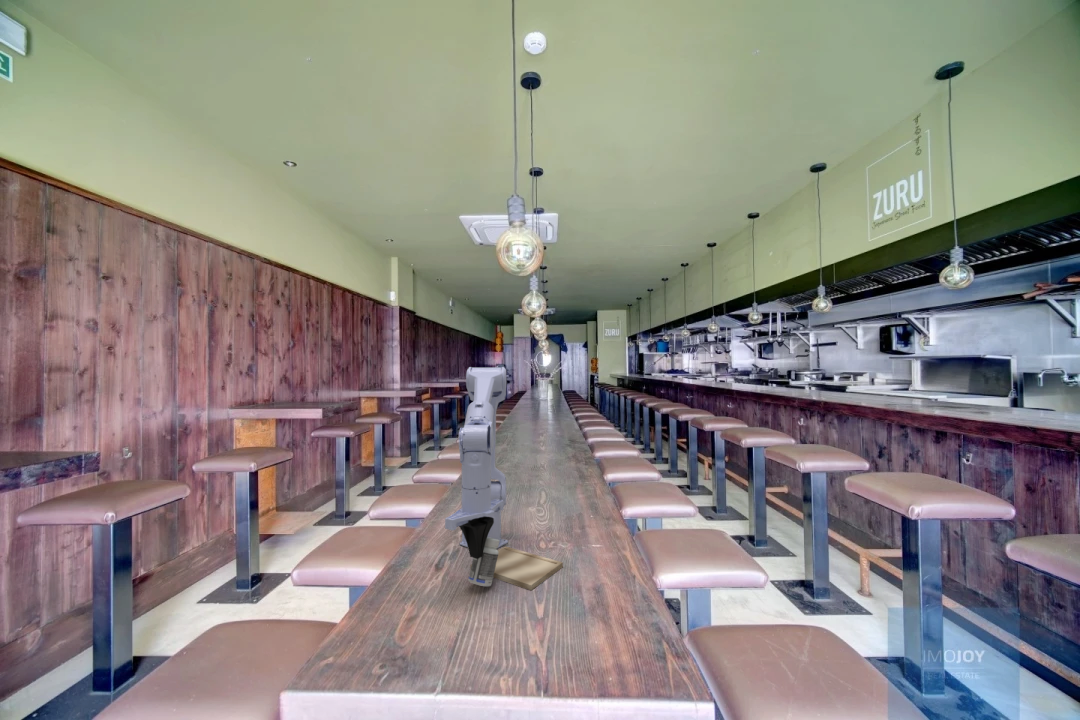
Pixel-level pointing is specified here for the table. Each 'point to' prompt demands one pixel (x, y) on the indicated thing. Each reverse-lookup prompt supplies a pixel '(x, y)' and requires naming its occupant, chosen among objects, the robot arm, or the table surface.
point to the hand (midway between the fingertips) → (476, 556)
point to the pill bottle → (485, 564)
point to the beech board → (523, 568)
